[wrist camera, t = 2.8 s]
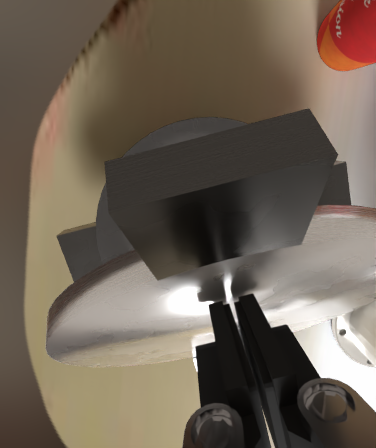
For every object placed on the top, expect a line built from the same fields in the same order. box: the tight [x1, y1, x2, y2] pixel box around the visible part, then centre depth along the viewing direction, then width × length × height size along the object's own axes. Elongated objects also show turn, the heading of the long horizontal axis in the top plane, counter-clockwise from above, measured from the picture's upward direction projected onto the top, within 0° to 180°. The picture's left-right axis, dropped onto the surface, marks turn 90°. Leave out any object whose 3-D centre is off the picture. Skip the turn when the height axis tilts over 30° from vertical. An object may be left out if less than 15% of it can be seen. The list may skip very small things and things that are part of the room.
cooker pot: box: [57, 117, 351, 370], centre depth 27 cm, size 22×19×10 cm
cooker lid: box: [46, 109, 376, 367], centre depth 14 cm, size 18×21×3 cm
